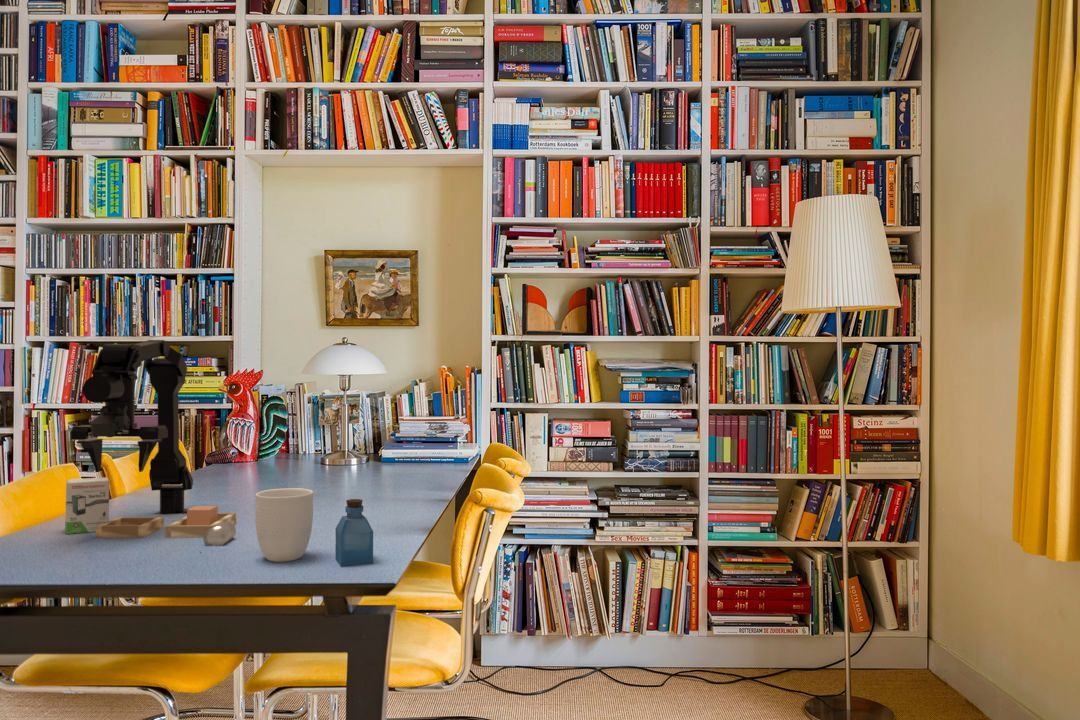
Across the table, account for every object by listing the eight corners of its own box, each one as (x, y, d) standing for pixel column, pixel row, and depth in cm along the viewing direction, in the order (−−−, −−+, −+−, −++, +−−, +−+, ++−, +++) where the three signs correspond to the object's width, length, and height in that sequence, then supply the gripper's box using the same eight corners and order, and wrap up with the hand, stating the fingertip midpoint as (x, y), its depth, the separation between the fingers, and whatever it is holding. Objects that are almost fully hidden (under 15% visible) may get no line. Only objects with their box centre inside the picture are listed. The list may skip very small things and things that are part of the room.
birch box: (192, 525, 187) (192, 513, 187) (236, 525, 187) (236, 512, 187) (165, 540, 171) (165, 526, 171) (213, 540, 172) (213, 526, 172)
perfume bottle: (340, 566, 150) (341, 504, 150) (335, 559, 156) (335, 498, 156) (373, 563, 153) (373, 502, 153) (366, 556, 159) (367, 496, 159)
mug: (237, 553, 160) (238, 489, 160) (289, 545, 168) (289, 484, 168) (269, 568, 149) (270, 499, 149) (323, 558, 157) (323, 492, 157)
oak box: (118, 530, 181) (118, 517, 181) (163, 529, 182) (163, 516, 182) (95, 540, 171) (95, 526, 171) (143, 539, 172) (143, 526, 172)
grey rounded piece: (215, 541, 171) (215, 521, 171) (235, 541, 171) (236, 521, 171) (203, 549, 164) (203, 527, 164) (224, 549, 164) (225, 528, 164)
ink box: (65, 534, 176) (65, 482, 176) (64, 530, 181) (65, 479, 181) (109, 530, 181) (109, 479, 181) (107, 526, 185) (108, 476, 185)
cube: (195, 527, 182) (195, 506, 182) (217, 527, 182) (217, 505, 182) (186, 532, 177) (187, 510, 177) (209, 532, 177) (209, 510, 177)
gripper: (55, 402, 165) (55, 477, 165) (146, 402, 166) (146, 477, 166) (83, 400, 176) (83, 469, 176) (169, 400, 177) (168, 469, 177)
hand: (119, 471), depth 173 cm, fingers open, 9 cm apart
